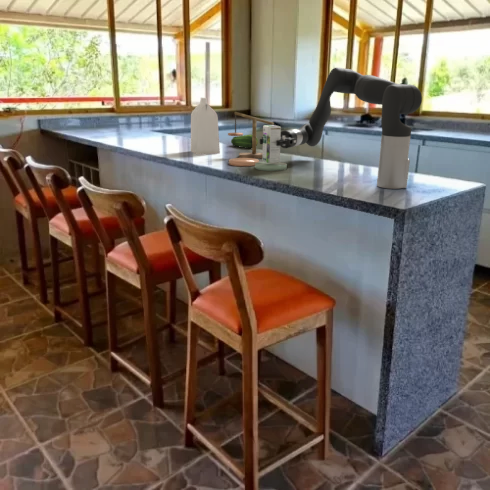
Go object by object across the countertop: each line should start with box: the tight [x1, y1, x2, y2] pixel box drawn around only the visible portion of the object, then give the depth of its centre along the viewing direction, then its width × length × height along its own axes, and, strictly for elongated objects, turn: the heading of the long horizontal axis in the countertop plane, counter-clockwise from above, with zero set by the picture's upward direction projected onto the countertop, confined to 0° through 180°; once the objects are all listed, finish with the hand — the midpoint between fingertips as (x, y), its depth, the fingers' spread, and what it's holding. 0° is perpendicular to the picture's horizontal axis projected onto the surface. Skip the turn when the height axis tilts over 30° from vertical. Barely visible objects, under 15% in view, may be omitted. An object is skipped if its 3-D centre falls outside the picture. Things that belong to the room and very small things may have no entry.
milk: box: [190, 97, 221, 155], centre depth 233 cm, size 12×12×26 cm
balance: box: [227, 111, 275, 159], centre depth 220 cm, size 24×7×20 cm, turn 91°
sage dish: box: [254, 161, 288, 172], centre depth 196 cm, size 13×13×2 cm
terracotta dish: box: [228, 157, 260, 167], centre depth 205 cm, size 13×13×2 cm
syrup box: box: [261, 124, 282, 163], centre depth 193 cm, size 6×6×14 cm
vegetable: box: [230, 134, 259, 150], centre depth 255 cm, size 7×7×20 cm
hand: (268, 142), depth 191 cm, fingers closed on syrup box, 7 cm apart
